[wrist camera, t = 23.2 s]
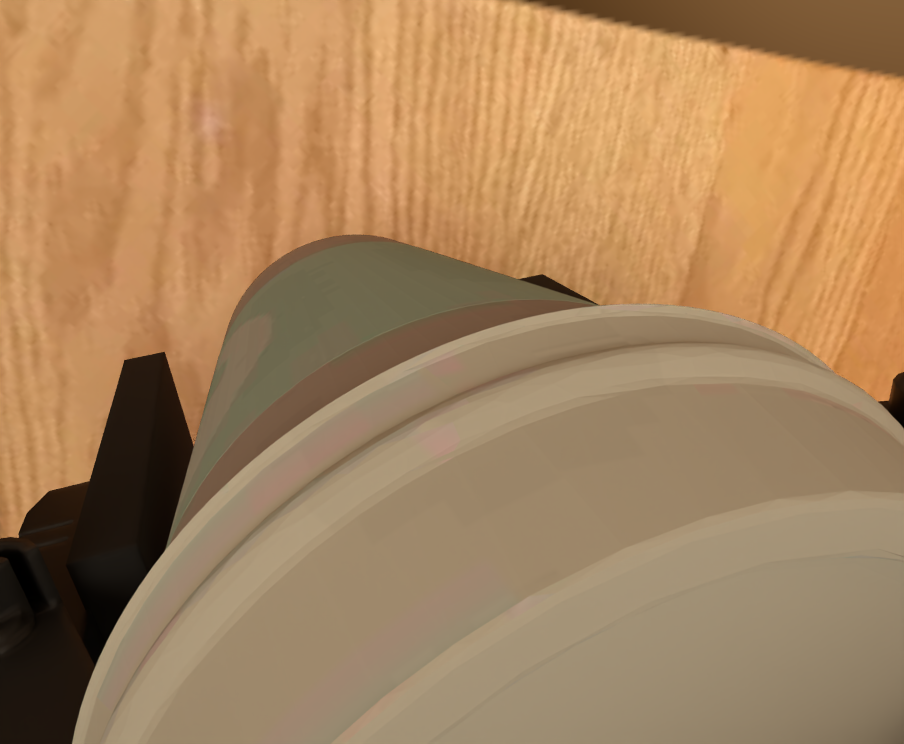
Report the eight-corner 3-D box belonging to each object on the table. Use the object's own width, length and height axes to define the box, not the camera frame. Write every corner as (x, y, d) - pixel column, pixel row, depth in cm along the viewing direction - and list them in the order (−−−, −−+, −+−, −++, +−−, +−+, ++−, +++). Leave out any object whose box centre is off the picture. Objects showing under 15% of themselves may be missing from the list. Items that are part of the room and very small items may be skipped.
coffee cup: (155, 137, 12) (-83, 385, 2) (555, 195, 16) (1277, 413, 5) (150, 526, 15) (39, 1466, 5) (489, 510, 18) (865, 1062, 8)
